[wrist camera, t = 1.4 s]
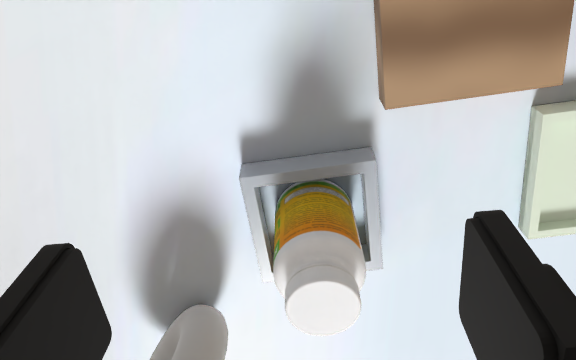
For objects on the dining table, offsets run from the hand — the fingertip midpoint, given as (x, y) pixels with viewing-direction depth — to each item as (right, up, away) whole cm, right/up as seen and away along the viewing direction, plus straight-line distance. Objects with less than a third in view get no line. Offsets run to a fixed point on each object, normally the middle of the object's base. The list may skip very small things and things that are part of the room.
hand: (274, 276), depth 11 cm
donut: (-7, -9, +26) cm, 29 cm away
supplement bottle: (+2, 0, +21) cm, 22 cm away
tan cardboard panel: (+10, +12, +15) cm, 22 cm away
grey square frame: (+2, 0, +21) cm, 21 cm away
